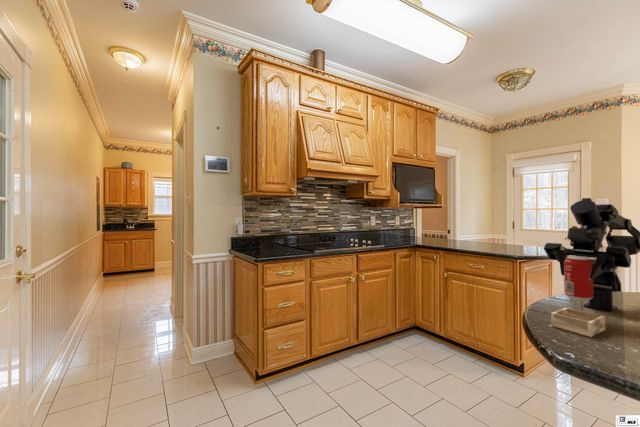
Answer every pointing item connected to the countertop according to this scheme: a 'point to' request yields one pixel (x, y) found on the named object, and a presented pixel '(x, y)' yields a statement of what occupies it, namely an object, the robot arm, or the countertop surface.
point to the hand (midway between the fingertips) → (576, 276)
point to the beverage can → (578, 278)
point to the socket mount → (578, 321)
